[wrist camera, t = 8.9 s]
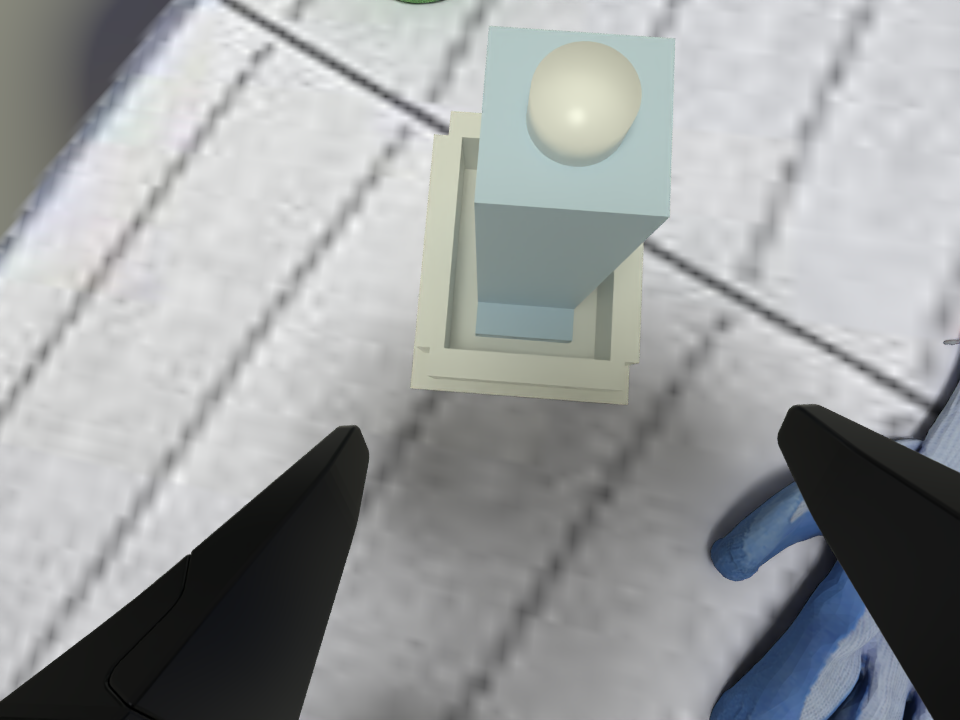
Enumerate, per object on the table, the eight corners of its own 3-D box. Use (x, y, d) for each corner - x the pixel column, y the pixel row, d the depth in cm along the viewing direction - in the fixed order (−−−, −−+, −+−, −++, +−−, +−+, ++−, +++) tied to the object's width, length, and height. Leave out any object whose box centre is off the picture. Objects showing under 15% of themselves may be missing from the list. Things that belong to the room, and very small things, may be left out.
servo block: (568, 343, 19) (686, 268, 8) (475, 336, 19) (467, 252, 8) (576, 195, 19) (694, -56, 9) (487, 189, 19) (494, -69, 9)
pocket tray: (623, 404, 19) (660, 406, 15) (412, 388, 19) (394, 385, 15) (633, 155, 20) (670, 96, 16) (435, 142, 20) (424, 79, 16)
